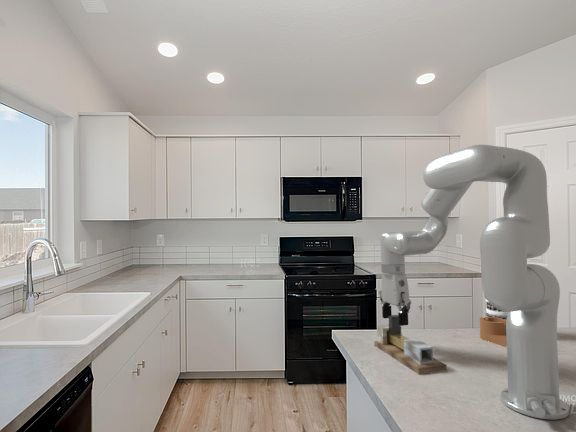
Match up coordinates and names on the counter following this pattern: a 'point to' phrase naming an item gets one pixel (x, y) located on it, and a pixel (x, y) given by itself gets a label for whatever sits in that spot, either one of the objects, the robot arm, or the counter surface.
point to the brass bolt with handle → (395, 332)
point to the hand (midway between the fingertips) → (394, 321)
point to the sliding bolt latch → (410, 353)
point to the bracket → (493, 330)
